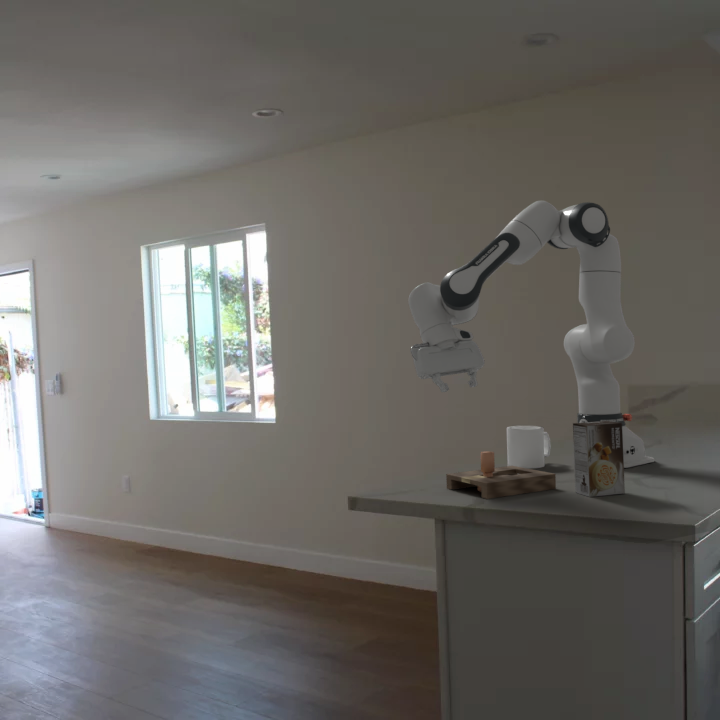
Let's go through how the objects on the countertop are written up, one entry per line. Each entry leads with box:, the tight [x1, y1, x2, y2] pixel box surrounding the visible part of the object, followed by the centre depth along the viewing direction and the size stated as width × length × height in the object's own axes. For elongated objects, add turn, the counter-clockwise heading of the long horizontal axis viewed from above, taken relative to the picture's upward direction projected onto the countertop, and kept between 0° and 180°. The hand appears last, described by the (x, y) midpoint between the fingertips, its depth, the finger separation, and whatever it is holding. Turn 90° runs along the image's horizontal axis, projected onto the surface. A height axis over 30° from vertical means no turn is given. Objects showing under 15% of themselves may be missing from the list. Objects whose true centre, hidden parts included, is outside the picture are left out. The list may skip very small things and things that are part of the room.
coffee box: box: [572, 421, 626, 498], centre depth 181 cm, size 9×6×16 cm
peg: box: [477, 450, 496, 493], centre depth 189 cm, size 5×5×9 cm
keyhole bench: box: [445, 465, 557, 500], centre depth 191 cm, size 20×16×4 cm
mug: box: [506, 425, 551, 469], centre depth 224 cm, size 14×10×11 cm
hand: (460, 388), depth 204 cm, fingers open, 8 cm apart
